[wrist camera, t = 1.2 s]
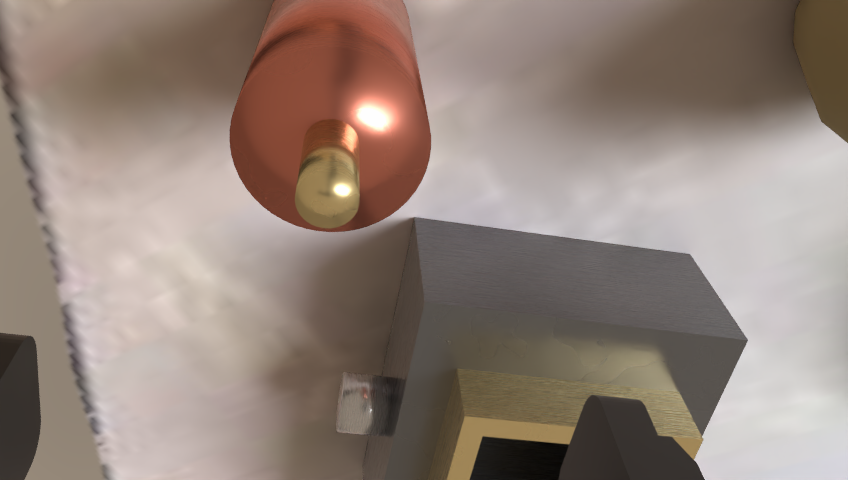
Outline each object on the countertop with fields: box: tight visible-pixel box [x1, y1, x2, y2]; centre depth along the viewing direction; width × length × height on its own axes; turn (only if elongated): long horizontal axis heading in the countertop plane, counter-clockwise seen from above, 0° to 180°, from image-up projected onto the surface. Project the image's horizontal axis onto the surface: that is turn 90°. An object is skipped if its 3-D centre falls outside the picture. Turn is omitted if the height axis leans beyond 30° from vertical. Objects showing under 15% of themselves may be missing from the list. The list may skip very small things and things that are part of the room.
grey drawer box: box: [336, 218, 748, 480], centre depth 33 cm, size 14×14×8 cm
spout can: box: [230, 0, 431, 232], centre depth 23 cm, size 5×5×13 cm
